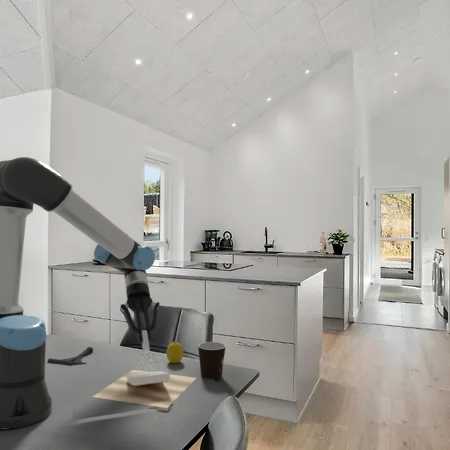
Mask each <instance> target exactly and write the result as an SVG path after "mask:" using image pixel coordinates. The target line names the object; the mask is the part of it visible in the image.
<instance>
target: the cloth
mask: <svg viewBox="0 0 450 450" xmlns="http://www.w3.org/2000/svg"><path fill="white" fill-rule="evenodd" d="M149 372H150V371H145V370H144V371H143V370H136V369H132V370H129V372H127V373H126V374H124V375H123V376H122V377H119V378H118V379H117V380H115V381H113V383H112V382H111V384H109V385H108V386H106V387H105V388H104V389H102V390H100V391H99V392H97V393H96V394H94V395H93V396H92V398H94V399H103V400H107V401H108V400H109V401H115V402H122V403H129V404H136V405H141V406H143V405H144V406H150V407H148V409H149V410H156V411H165V412H168V411H169V410H170V409H171V408H172V407H173V406H174V405H175V404H174V402H175V401H176V400H177V399H178V398H179V397H180V396H181V395H182V394H183V393H184V392H185V391H186V389H188V387H189V386H191V385H192V383H193V382H195V381H196V379H197V377H194V376H186V375H177V374H170V381H168V382H160V383H153V384H145V385H138V386H134V385H132V384H130V383H128V382H127V375H133V374H141V373H149Z"/></svg>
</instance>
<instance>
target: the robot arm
mask: <svg viewBox="0 0 450 450" xmlns="http://www.w3.org/2000/svg"><path fill="white" fill-rule="evenodd" d="M34 205H36V206H38V207H40V208H41V209H43V210H44V211H46V212H49V213H51V212H54V213H55V214H57V215H58V216H60V217H61V218H62V219H64V220H65V221H66V222H68V223H69V224H70V225H72V226H73V227H74V228H75V229H77V230H79V231H80V233H82V234H83V235H85V236H86V237H88V238H89V239H91V240H92V241H94V242H95V243H96V246H95V249H94V250H93V257H94V259H95V260H97V261H98V262H100V263H101V264H104V265H106V266H108V267H111V268H112V269H115V270H117V271H119V272H120V273H123V275H124V277H123V278H124V283H125V290H126V291H125V294H126V298H127V299H126V303H123V304H120V306H119V307H120V308H119V311H120V312H121V313H122V314H123V316H124V319H125V322H126V324H127V327H128V328H129V332H130V333H131V334H136V336H137V341H138V342H137V343H138V344H141V347H142V354H143V355H148V354H149V353H150V350H151V349H150V343H151V340H152V334H151V333H154V332H155V329H156V325H157V317H158V316H157V315H158V310H159V308H160V304H161V303H160V302H159V301H158V302H155V301H153V299H152V297H151V294H150V287H149V279H148V275H147V271H146V270H148V269H151V268H152V266H153V265H154V264H155V263H154V262H155V260H156V254H155V251H154V249H153V248H152V247H150V246H148V245H144V244H142V245H141V244H140V243H138V242H137V241H136V240H134V239H133V238H132V237H131V236H130V235H129V234H127V233H126V232H125V231H123V229H121V228H120V227H119V226H117V225H116V224H115V223H113V222H112V221H111V219H109V218H108V217H106V216H105V215H104V214H102V213H101V212H100V211H99V210H97V208H95V207H94V206H93V205H92V204H90V203H89V202H88V201H87V200H85V199H84V198H83V197H82V196H81V195H80V194H78V193H77V192H76V191H74V190H73V184H72V183H71V182H69V181H68V180H67V179H65V178H64V177H63V176H62V175H61V174H59V173H58V172H57V171H55V170H54V169H53V168H51V167H50V166H49V165H48V164H45V163H43V161H40V160H38V159H36V158H32V157H27V156H26V157H22V156H21V157H16V158H13V159H8V160H1V161H0V428H14V429H19V428H18V427H20V428H23V427H27V426H30V425H34V424H36V423H38V422H41V421H43V419H46V418H47V417H48V416H49V415H51V413H52V410H53V400H52V397H51V396H50V393H49V390H48V389H49V388H48V386H47V383H46V377H45V376H46V351H47V350H46V347H47V346H46V345H47V343H46V341H47V336H48V335H47V331H46V323H45V321H44V320H42V319H41V318H39V317H37V316H35V315H34V316H33V315H24V308H23V307H22V306H21V304H19V294H20V286H21V275H22V266H23V265H22V264H23V256H24V255H23V253H24V246H25V245H24V244H25V235H26V234H25V232H26V225H27V224H26V223H27V217H28V216H29V215H30V214H32V213H33V211H34ZM150 308H151V310H152V313H151V314H152V315H151V321H150V319H149V313H148V311H149V309H150ZM129 309H130V310H131V312H132V313H133V315H134V316H133V317H134V320H133V317H132V315H131V312H130V310H129ZM141 316H142V319H141ZM142 321H143V326H144V327H143V328H144V330H142V329H143V328H142ZM150 323H151V324H150Z"/></svg>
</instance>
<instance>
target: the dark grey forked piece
mask: <svg viewBox="0 0 450 450" xmlns="http://www.w3.org/2000/svg"><path fill="white" fill-rule="evenodd" d="M93 352H94V349H93V347H91V346H88V347H86V349H84V350H83V351H82V352H80V354H78V355H76V356H72V357H69V358H62V359H61V358H60V359H58V358H57V359H56V358H48V359H47V363H49V364H50V363H51V364H57V365H58V364H59V365H67V366H80V365H87V363H86V362H83V361H82V359H83V358H84V357H86V356H87V355H90V354H92V353H93Z"/></svg>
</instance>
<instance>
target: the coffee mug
mask: <svg viewBox="0 0 450 450" xmlns="http://www.w3.org/2000/svg"><path fill="white" fill-rule="evenodd" d="M197 348H198V357H199V367H200V369H199V370H200V377H201V378H203V379H207V380H214V381H215V382H218V381H220V380H222V378H223V372H224V371H223V369H224V361H225V355H226V354H225V353H226V344H225V343H223V342H219V341H204V342H201V343H199V344H198V345H197Z"/></svg>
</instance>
